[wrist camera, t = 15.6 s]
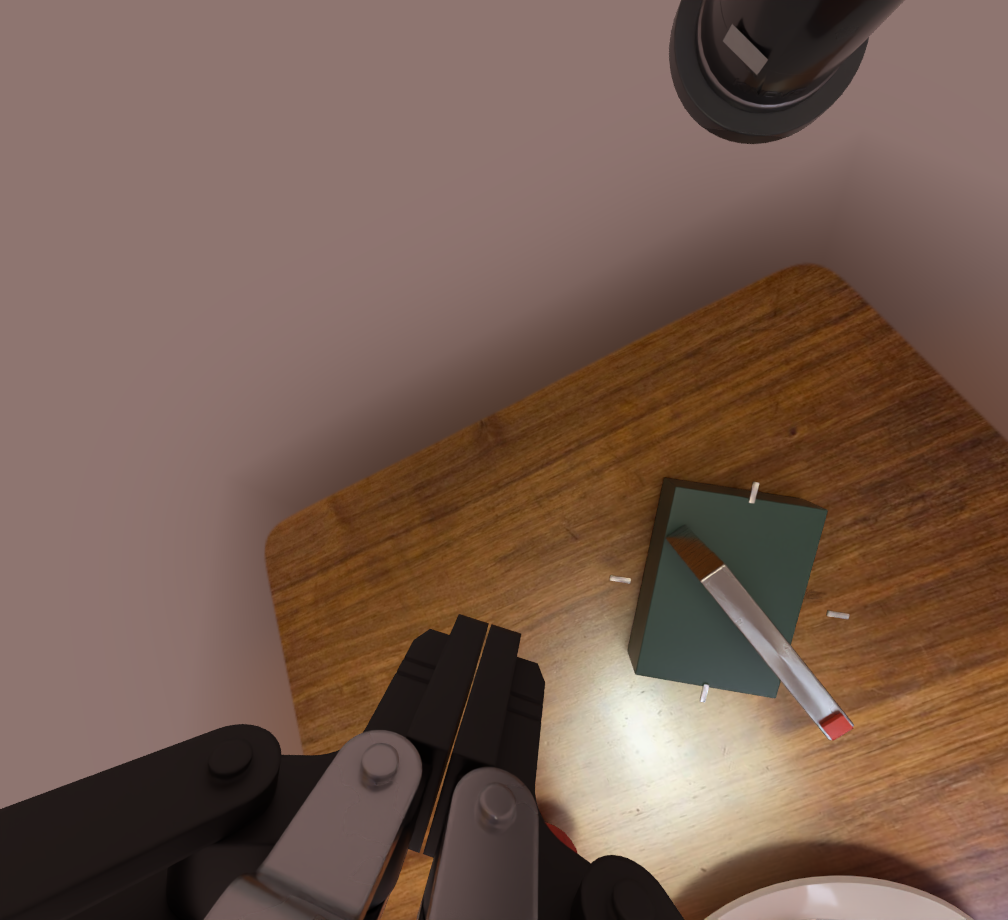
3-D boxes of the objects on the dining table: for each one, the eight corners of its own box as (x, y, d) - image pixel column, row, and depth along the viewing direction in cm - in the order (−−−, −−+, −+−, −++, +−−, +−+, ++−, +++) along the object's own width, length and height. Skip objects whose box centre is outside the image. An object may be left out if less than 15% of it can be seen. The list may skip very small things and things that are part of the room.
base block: (624, 455, 35) (632, 463, 32) (851, 490, 34) (883, 502, 31) (585, 657, 38) (589, 682, 34) (793, 692, 37) (817, 721, 34)
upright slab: (664, 537, 32) (701, 583, 25) (684, 523, 32) (726, 565, 25) (769, 666, 33) (832, 745, 26) (789, 653, 33) (858, 729, 26)
